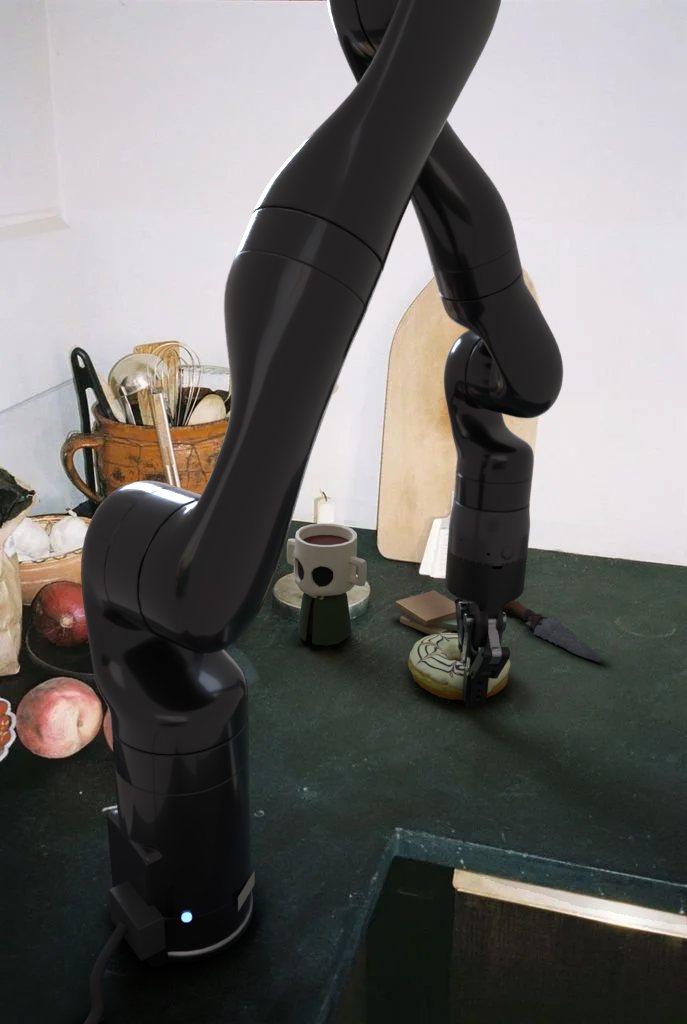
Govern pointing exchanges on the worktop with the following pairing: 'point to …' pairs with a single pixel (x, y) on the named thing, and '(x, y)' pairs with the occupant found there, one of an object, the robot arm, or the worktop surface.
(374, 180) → the robot arm
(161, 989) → the worktop surface
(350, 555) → the character mug
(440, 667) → the decorated donut
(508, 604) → the knife
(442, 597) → the coaster stack
